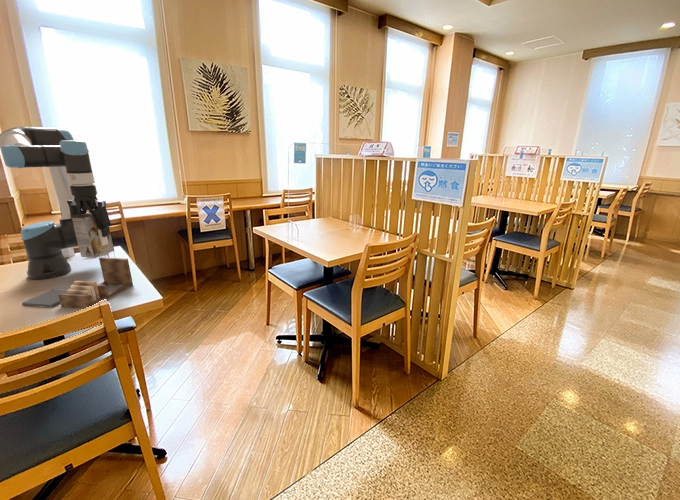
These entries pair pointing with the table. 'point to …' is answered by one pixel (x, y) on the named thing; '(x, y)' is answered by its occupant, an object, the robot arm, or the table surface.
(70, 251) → the jar
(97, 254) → the coffee box
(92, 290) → the offcut stack
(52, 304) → the rubber mat
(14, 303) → the table surface
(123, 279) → the walnut rack
